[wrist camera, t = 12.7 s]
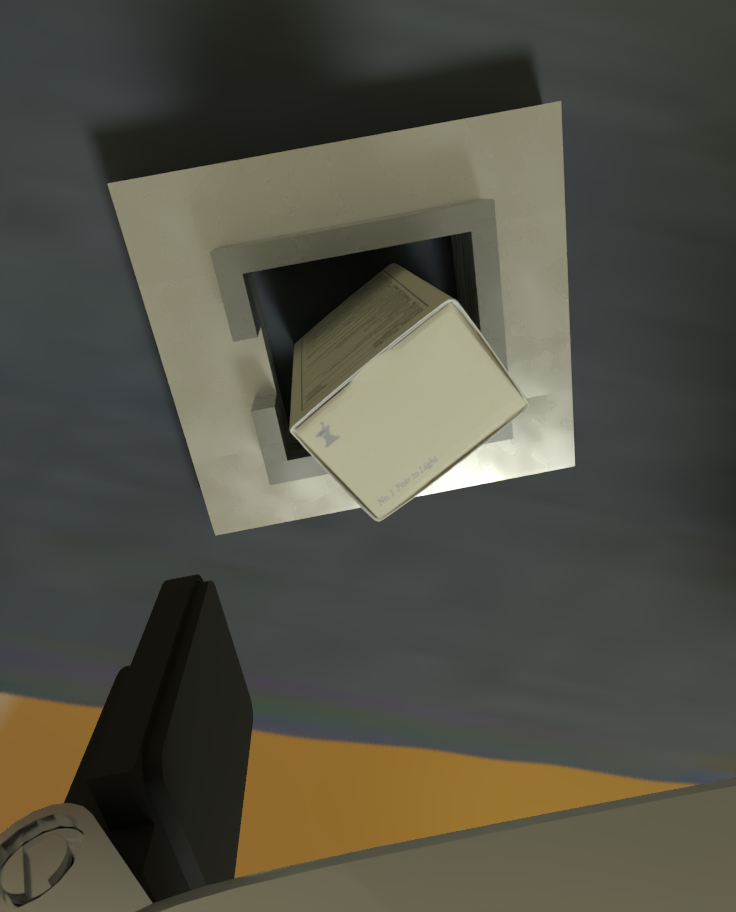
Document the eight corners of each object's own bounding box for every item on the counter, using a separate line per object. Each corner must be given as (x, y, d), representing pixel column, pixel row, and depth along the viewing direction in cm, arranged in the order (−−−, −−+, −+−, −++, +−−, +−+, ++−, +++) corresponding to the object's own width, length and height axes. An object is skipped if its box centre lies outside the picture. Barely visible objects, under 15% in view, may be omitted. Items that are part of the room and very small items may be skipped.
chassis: (560, 450, 33) (591, 483, 29) (220, 515, 33) (209, 557, 29) (543, 107, 27) (581, 94, 23) (121, 183, 26) (91, 183, 23)
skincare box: (349, 409, 31) (374, 533, 20) (289, 341, 29) (279, 433, 18) (451, 328, 30) (538, 411, 19) (395, 252, 28) (453, 293, 17)
